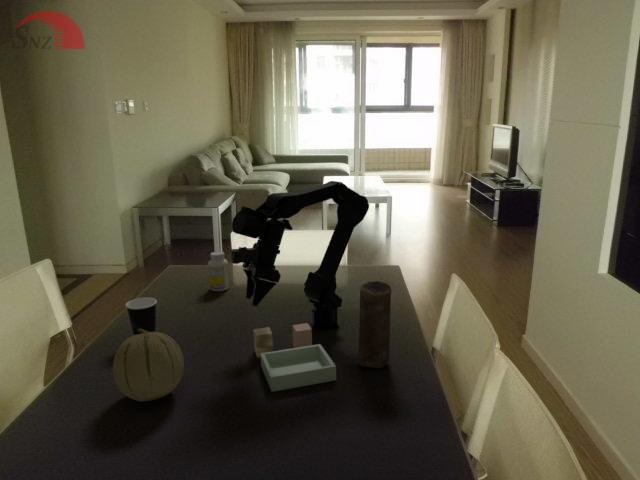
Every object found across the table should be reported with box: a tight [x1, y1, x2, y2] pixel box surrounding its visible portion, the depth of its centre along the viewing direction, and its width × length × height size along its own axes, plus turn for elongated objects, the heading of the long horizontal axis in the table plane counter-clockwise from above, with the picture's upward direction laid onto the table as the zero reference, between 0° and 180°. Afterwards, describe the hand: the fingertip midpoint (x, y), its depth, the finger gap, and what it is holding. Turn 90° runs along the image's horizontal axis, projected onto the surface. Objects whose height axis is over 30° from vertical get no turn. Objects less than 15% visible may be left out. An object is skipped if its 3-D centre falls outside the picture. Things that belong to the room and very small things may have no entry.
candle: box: [357, 280, 392, 370], centre depth 122 cm, size 8×7×20 cm
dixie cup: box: [125, 296, 158, 336], centre depth 139 cm, size 8×8×11 cm
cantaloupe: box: [112, 329, 185, 403], centre depth 111 cm, size 15×15×15 cm
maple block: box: [253, 326, 274, 359], centre depth 131 cm, size 4×4×6 cm
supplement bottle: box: [208, 251, 231, 292], centre depth 178 cm, size 7×7×13 cm
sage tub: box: [260, 343, 337, 393], centre depth 121 cm, size 15×12×4 cm
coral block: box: [292, 322, 313, 348], centre depth 133 cm, size 4×4×6 cm
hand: (250, 302), depth 130 cm, fingers open, 9 cm apart
